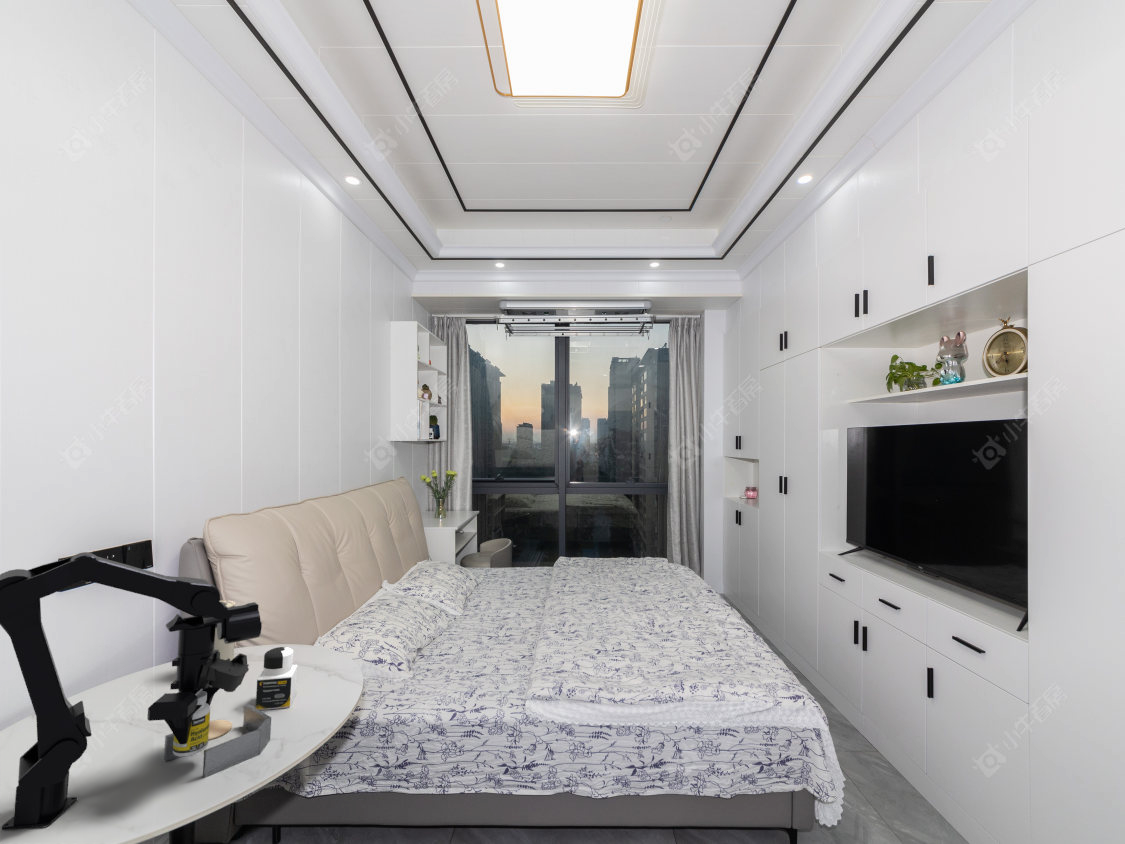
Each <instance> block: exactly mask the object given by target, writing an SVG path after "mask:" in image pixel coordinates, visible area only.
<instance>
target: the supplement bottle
mask: <svg viewBox="0 0 1125 844" xmlns="http://www.w3.org/2000/svg"><path fill="white" fill-rule="evenodd" d="M197 697H198V703H197V705H202V706H201V707H200V708H199V709H198V710H197V711H196V712H195V713H194V714H193V718H192V723H191V728H190V733H189V737H188V741H187V743H186V744H179V742H178V741H177V739H176V737H175V736H174V742H173V754H174V755H176V756H179V757H190V756H193V755H197V754H199V753H201V752H202V751H204V750H206V748H207V746H208V744H209V741H208V737H209V721H211V704H210V705H209V704H207V703H205V702H206V701H207V692H205V691H201V692H199V693H198V694H197Z"/></svg>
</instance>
